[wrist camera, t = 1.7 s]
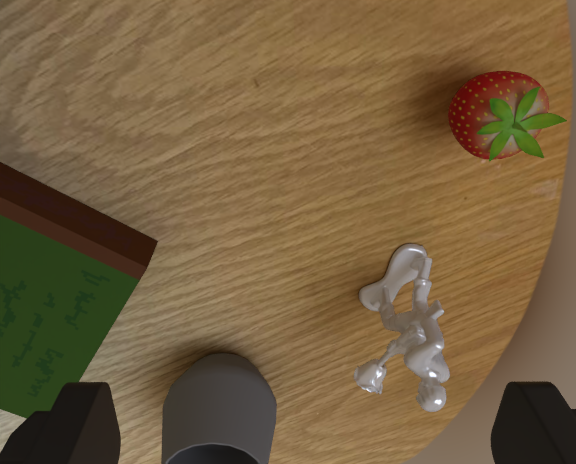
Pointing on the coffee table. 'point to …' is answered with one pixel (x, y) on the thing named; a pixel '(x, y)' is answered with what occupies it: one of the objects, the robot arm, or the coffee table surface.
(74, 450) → the robot arm
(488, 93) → the fruit
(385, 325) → the figurine
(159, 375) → the coffee table surface
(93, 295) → the hardcover book
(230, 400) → the cup
